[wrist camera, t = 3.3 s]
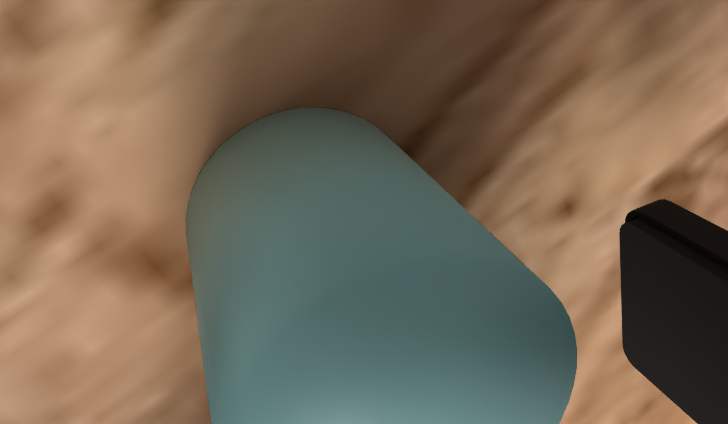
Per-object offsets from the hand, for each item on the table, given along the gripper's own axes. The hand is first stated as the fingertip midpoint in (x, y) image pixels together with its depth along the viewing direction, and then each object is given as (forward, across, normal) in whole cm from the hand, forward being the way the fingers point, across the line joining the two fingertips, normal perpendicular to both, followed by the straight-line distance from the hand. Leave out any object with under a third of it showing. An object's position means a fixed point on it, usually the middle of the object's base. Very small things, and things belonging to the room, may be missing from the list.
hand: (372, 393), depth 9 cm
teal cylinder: (+5, 0, -1) cm, 5 cm away
